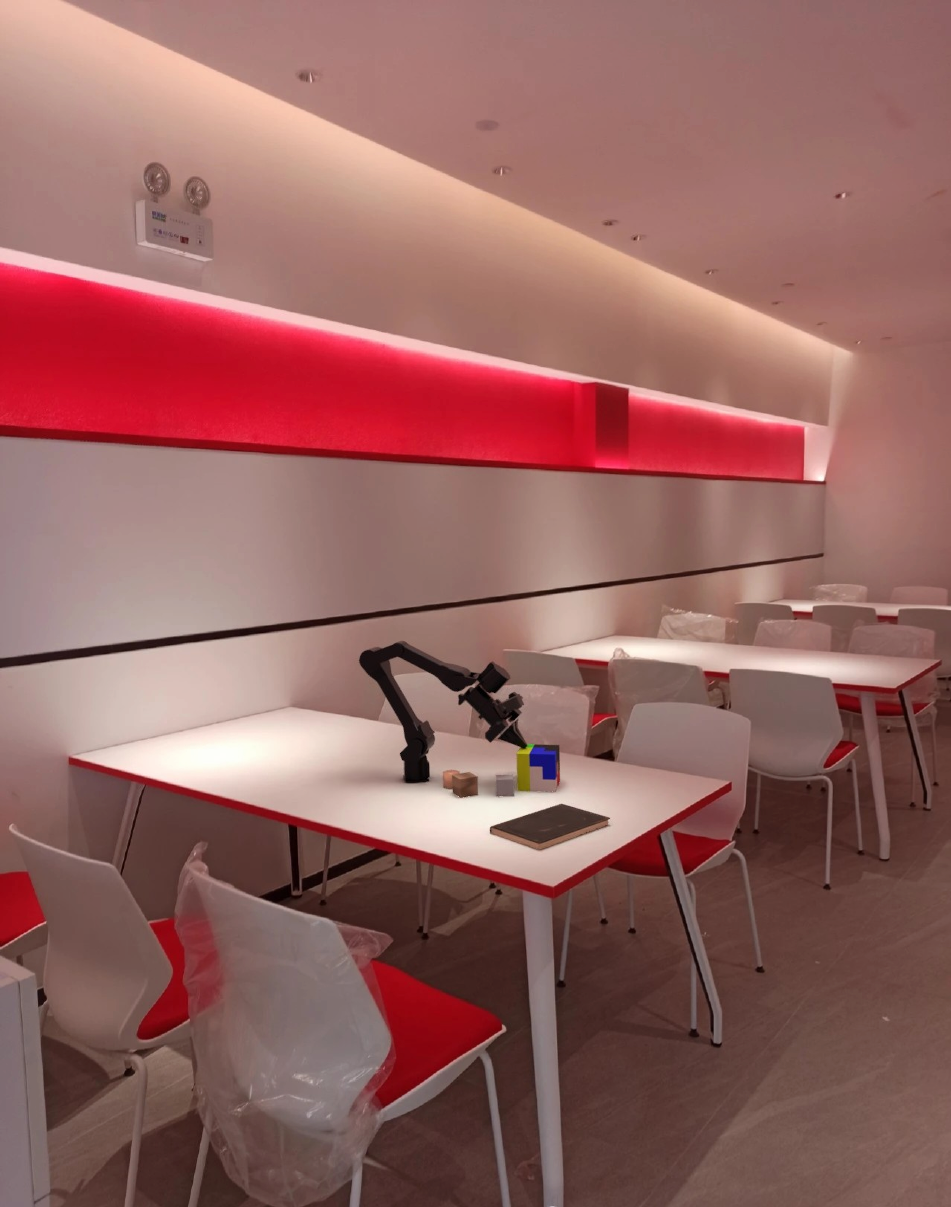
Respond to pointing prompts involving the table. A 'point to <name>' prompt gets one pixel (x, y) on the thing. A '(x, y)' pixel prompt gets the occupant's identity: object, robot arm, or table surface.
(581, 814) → the hardcover book
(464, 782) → the walnut block
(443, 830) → the table surface
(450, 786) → the terracotta cylinder
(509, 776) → the slate block
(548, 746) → the puzzle toy
